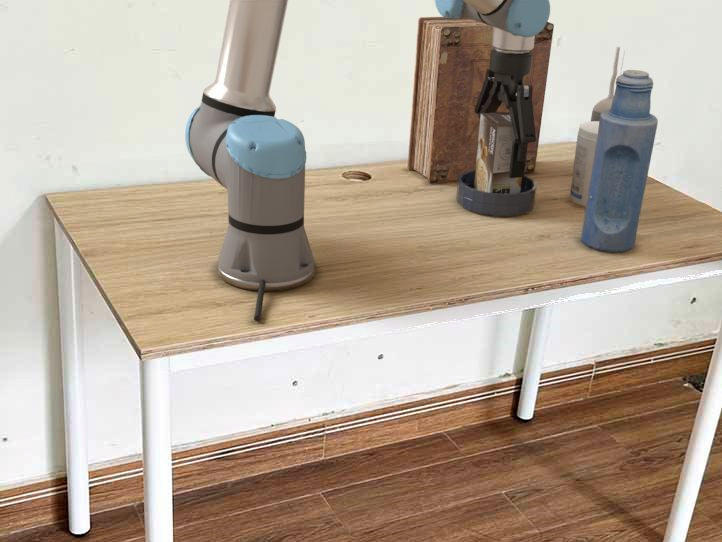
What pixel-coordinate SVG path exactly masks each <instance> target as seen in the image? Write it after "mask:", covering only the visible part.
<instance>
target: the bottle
mask: <svg viewBox="0 0 722 542" xmlns="http://www.w3.org/2000/svg"><path fill="white" fill-rule="evenodd" d="M653 86H654V79H653V78H652V77H650V74H649V72H648V71H644V70H637V69H626V70H623V72H622V73H621V74H620V75H617V76H616V79H615V88H614V98H613V101H612V105H611V109H608V110H604V111H603V112H602V113H601V115H600V121H599V128H598V136H597V143H596V148H595V155H594V161H593V167H592V173H591V180H590V185H589V192H588V198H587V204H586V207H585V211H584V217H583V224H582V230H581V236H580V240H581V242H582V244H584V245H585V246H586V247H589V248H591V249H593V250H595V251H599V252H603V253H611V254H612V253H613V254H615V253H625V252H628V251H631V250H633V248H634V247H635V245H636V239H637V233H638V228H639V224H640V223H639V222H640V216H641V212H642V206H643V201H644V196H645V190H646V186H647V181H648V176H649V171H650V164H651V160H652V156H653V155H652V154H653V150H654V149H653V148H654V145H655V139H656V134H657V129H658V123H659V119H658V118H657V116H655V115H654V114H652V113H651V102H652V101H651V99H652V97H651V95H652V91H653V88H654V87H653Z"/></svg>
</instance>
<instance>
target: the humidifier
mask: <svg viewBox="0 0 722 542" xmlns="http://www.w3.org/2000/svg"><path fill="white" fill-rule="evenodd" d="M620 49H621V47H620V46H616V48H615V54H614V60H613V67H612V75H611V78H610V81H609V92H608V95H607V97H606V98H603V99H601V100H599V101H598V102H597V103H596V104H595V105H594V106H593V108H592V111H591V117H590V122H591V121H600V115H601V113H602V112H603V111H604V110H608V109H611V105H612V101H613V98H614V94H615V85H616V79H617V77H618V64H619V58H620V57H619V56H620ZM625 53H626V50H624V51H623V54H625ZM624 59H625V55H623V57H622V60H624ZM623 64H624V61H622V63H621V67H620V70H622V68H623V66H624V65H623Z"/></svg>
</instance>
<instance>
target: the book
mask: <svg viewBox="0 0 722 542" xmlns="http://www.w3.org/2000/svg"><path fill="white" fill-rule="evenodd" d="M554 27H555V24H554V23H552V22H549V21H547V23H546V25H545V27H544V28H543V29H542V31H541V32H539V33H538V34H537V35H535V38H534V47H533V49H532V50H530V51H531V52H532V54H533V58H532V66H531V72H530V73H529V74H527V75H525V76H524V77H523V83H524V85H532V87H533V92H532V103H533V113H534V123H535V133H536V141H535V142H531V143H528V147H527V155H526V162H525V171H524V174H531V173H533V174H534V173H535V171H536V166H537V165H536V164H537V157H538V150H539V142H540V133H541V126H542V119H543V111H544V104H545V96H546V89H547V81H548V74H549V73H548V72H549V64H550V58H551V52H552V42H553V36H554ZM492 33H493V26H490V25H486V24H483V23H481V22H478V21H475V20H472V19H470V18H460V19H456V18H445V17H443V16H423V17H422V16H421V17H419V18H418V23H417V34H416V47H415V48H416V49H415V50H416V51H415V60H414V61H415V63H414V75H413V90H412V103H411V115H410V130H409V141H408V142H409V143H408V154H407V155H408V157H407V170H408V171H416V172H417V173H419V174H421V176H423V177H424V178H426V179H427V182H428V183H429V184H431V185H432V184H440V183H451V182H458V177H459V176H460V175H461V174H462V173H464V172H467V171H471V170H476V160H477V147H478V136H479V126H480V119H479V117H478V115H479V114H476V113H475V107H476V104H477V101H478V98H479V95H480V92H481V90H482V87H483V84H484V81H485V77H486V70H487V69H490V68H489V65H490V55H491V50H492V49H493V48H494V47H493V46H492V45H491V43H492ZM524 99H525V98H524ZM481 107H483V106H481ZM496 112H509V110H508V109H507V108H506V107H505V104H504V103H503V102H502V103H501V105H500V106H499V108H498V110H497V111H496Z"/></svg>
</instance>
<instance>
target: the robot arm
mask: <svg viewBox="0 0 722 542" xmlns="http://www.w3.org/2000/svg"><path fill="white" fill-rule="evenodd" d="M434 3H435V8H436V9H437V11H438V13H439V15H440V16H441V17H445V18H456V19H460V18H470V19H472V20H475V21H478V22H481V23H483V24H486V25H490V26H493V33H492V43H491V45H492V46H493V47H494V48H493V49H492V50H491V55H490V65H489V68H490V69H487V70H486V77H485V81H484V84H483V87H482V90H481V92H480V95H479V98H478V101H477V104H476V107H475V113H476V114H479V115H478V117H479V119H480V117H481V113H492V112H496V111H497V110H498V108H499V106H500V105H501V103H502V102H503V103H504V104H505V107H506V108H507V109H508V110H509V113H510V118H511V122H512V127H513V131H514V136H515V140H513V142H512V143H513V144H512V152H511V161H510V170H509V177H510V178H519V177H524V175H525V173H524V171H525V162H526V155H527V147H528V143H531V142H535V141H536V133H535V123H534V113H533V103H532V92H533V87H532V85H524V83H523V77H524V76H525V75H527V74H529V73H530V72H531V66H532V58H533V54H532V52H531V51H530V50H532V49H533V47H534V38H535V35H537V34H538V33H539V32H541V31H542V29H543V28H544V27H545V25H546V23H547V22H549V19H550V16H551V2H550V0H434ZM288 4H289V0H229V5H228V10H227V15H226V21H225V27H224V32H223V37H222V43H221V49H220V53H219V59H218V63H217V64H218V65H217V70H216V76H215V79H214V82H213V83H211V84H210V85H208V86H206V87H205V88H204V89H203V91H202V97H201V101H200V104H199V106H198V107H196V109H193V111H192V112H191V114H190V116H189V117H188V120H187V122H186V125H185V130H184V136H185V139H184V140H185V146H186V149H187V151H188V153H189V155H190V158H191V159H192V160H193V161H194V163H195V164H196V165H197V166H198V168H199V169H200V170H201V171H202V172H203V173H204V174H205V175H207V176H208V177H211V178H212V179H213V180H215V182H217V184H219V185H221V186H222V188H224V189H226V191H227V212H228V213H227V214H228V215H227V217H228V220H227V221H228V223H227V224H228V225H227V229H226V232H225V235H224V238H223V240H222V241H223V242H222V244H221V248H220V251H219V254H218V258H217V274H218V276H219V277H220V279H222V280H223V281H224V282H225V283H227V284H229V285H231V286H234V287H237V288H240V289H243V290H244V289H245V290H250V291H257V296H256V297H257V298H256V303H255V311H254V314H253V315H254V316H253V321H255V322H260V320H261V316H262V310H263V304H264V296H265V292H276V291H277V292H278V291H279V292H280V291H286V290H291V289H295V288H298V287H301V286H304V285H306V284H308V283H309V282H310V281H311V280H312V279H313V278H314V277H315V272H316V270H315V268H316V267H315V266H316V265H315V257H314V255H313V251H312V248H311V245H310V242H309V239H308V235H307V232H306V229H305V194H306V192H305V191H306V163H307V151H306V142H305V136H304V134H303V132H302V130H300V128H299V127H298V126H297V125H296V124H294V123H292V122H291V121H289V120H286V119H284V118H277V116H276V112H277V106H276V104H275V103H274V100H273V99H272V97H271V96H270V92H271V87H272V81H273V78H274V72H275V67H276V64H277V63H276V62H277V58H278V53H279V49H280V48H279V47H280V43H281V39H282V34H283V28H284V23H285V19H286V14H287V10H288ZM524 98H525V99H524ZM481 106H483V107H481ZM479 127H480V126H479ZM478 138H479V136H478ZM477 149H478V147H477Z"/></svg>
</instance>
